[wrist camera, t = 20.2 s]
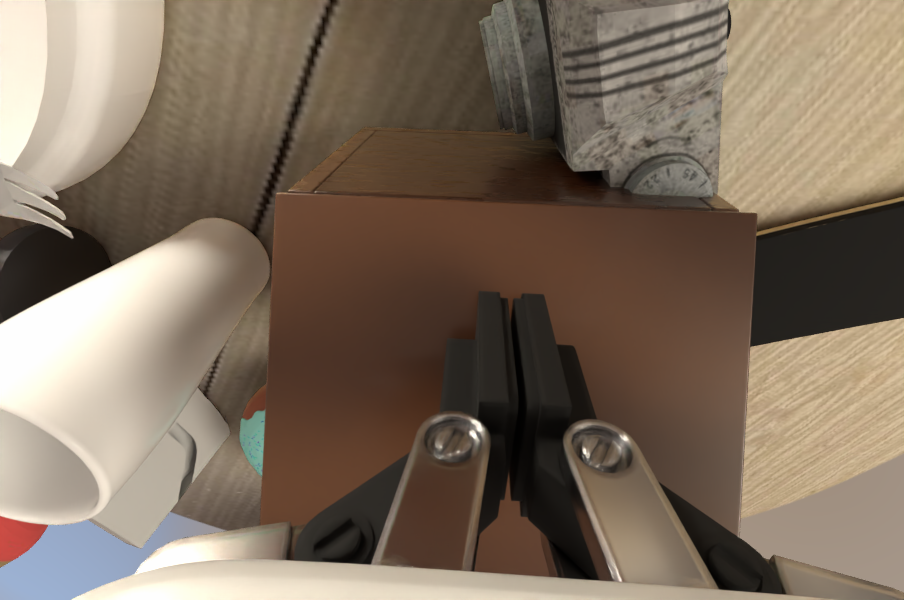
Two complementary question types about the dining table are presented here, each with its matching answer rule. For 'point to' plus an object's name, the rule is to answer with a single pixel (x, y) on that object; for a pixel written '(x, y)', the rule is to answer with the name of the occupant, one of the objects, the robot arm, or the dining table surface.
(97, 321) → the white tumbler cup
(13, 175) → the fork
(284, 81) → the dining table surface
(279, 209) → the lid
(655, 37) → the camera
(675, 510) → the robot arm
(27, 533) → the decorative object
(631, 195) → the chest
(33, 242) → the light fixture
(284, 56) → the dining table surface
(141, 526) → the grey square panel
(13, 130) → the plate
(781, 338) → the smartphone
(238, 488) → the dining table surface
